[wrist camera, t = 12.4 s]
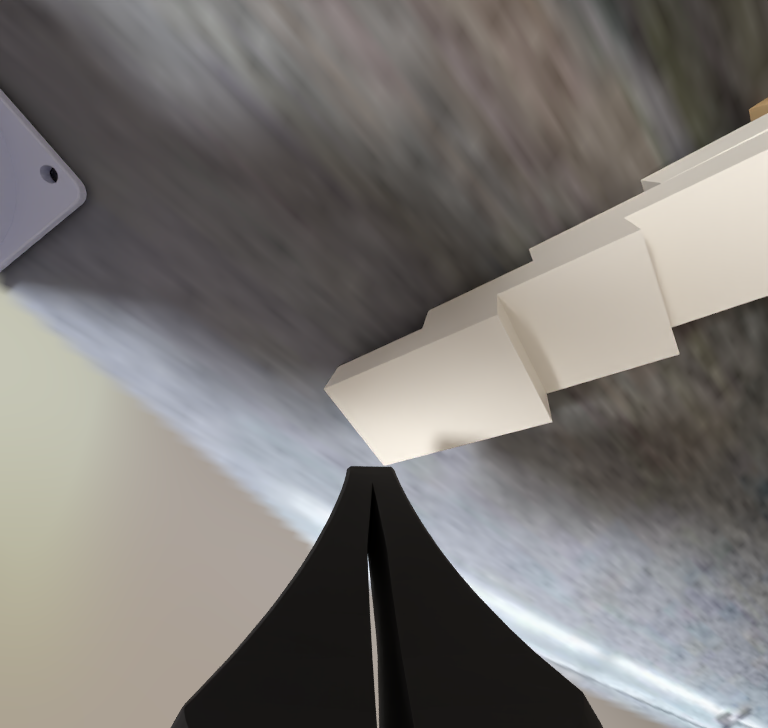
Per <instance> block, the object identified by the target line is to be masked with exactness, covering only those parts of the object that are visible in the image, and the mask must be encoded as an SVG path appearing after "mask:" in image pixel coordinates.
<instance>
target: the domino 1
mask: <svg viewBox="0 0 768 728" xmlns="http://www.w3.org/2000/svg"><path fill="white" fill-rule="evenodd" d="M324 390H325V391H326V393H327V394H328V395H329V396H330V398H331V399H332V400H333V402H334V403H335V404H336V405H337V407H338V408H339V409H340V410H341V412H342V413H343V414H344V416H345V417H346V418H347V419H348V421H349V422H350V423H351V424H352V426H353V427H354V428H355V430H356V431H357V432H358V433H359V435H360V436H361V437H362V438H363V440H364V441H365V442H366V444H367V445H368V446H369V447H370V449H371V450H372V451H373V452H374V454H375V455H376V456H377V457H378V459H379V460H380V461H381V463H382V464H383V465H384V466H385V465H389V464H393V463H396V462H400V461H404V460H408V459H412V458H416V457H420V456H423V455H427V454H431V453H435V452H439V451H443V450H446V449H450V448H454V447H458V446H462V445H466V444H470V443H473V442H477V441H481V440H485V439H489V438H493V437H497V436H500V435H504V434H508V433H512V432H516V431H520V430H523V429H527V428H531V427H535V426H539V425H543V424H547V423H550V422H552V417H551V412H550V408H549V403H548V398H547V393H546V391H545V389H544V387H543V385H542V383H541V381H540V379H539V377H538V375H537V373H536V371H535V369H534V367H533V365H532V363H531V361H530V359H529V357H528V355H527V353H526V351H525V349H524V347H523V345H522V343H521V341H520V339H519V337H518V335H517V334H516V332H515V330H514V328H513V326H512V324H511V322H510V320H509V318H508V316H507V314H506V312H505V310H504V308H503V306H502V304H501V302H500V300H499V298H498V296H497V295H494V296H492V297H490V298H488V299H486V300H483V301H481V302H479V303H477V304H475V305H472V306H470V307H468V308H466V309H464V310H462V311H459V312H457V313H455V314H453V315H451V316H448V317H446V318H444V319H442V320H440V321H437V322H435V323H433V324H431V325H429V326H426V327H424V328H422V329H420V330H418V331H415V332H413V333H411V334H409V335H407V336H404V337H402V338H400V339H398V340H396V341H394V342H391V343H389V344H387V345H385V346H383V347H380V348H378V349H376V350H374V351H372V352H369V353H367V354H365V355H363V356H361V357H358V358H356V359H354V360H352V361H350V362H347V363H345V364H343V365H341V366H339V367H338V368H337V369H336V371H335V372H334V374H333V375H332V377H331V378H330V380H329V381H328V383H327V385H326V386H325V388H324Z"/></svg>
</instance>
